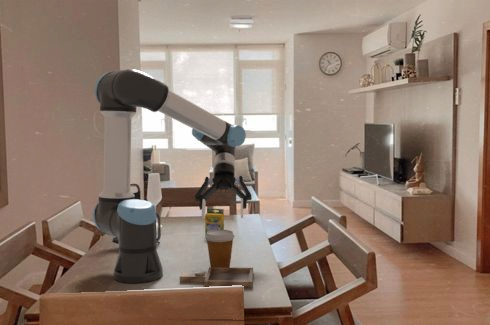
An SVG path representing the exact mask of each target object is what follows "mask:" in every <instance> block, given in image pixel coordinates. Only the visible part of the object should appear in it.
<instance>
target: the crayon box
mask: <svg viewBox="0 0 490 325" xmlns="http://www.w3.org/2000/svg"><path fill="white" fill-rule="evenodd" d="M215 211H216V212H215ZM224 211H225V210H224V208H206V212H205V219H204V220H205V221H204V225H205V226H204V228H205V229H204V230H205V232H204V233H205V235H204V236H206V234H207V232H208V231H211V230H225V224H224V223H225V219H224V218H225V217H224V216H225V214H224V213H225V212H224Z"/></svg>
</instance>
